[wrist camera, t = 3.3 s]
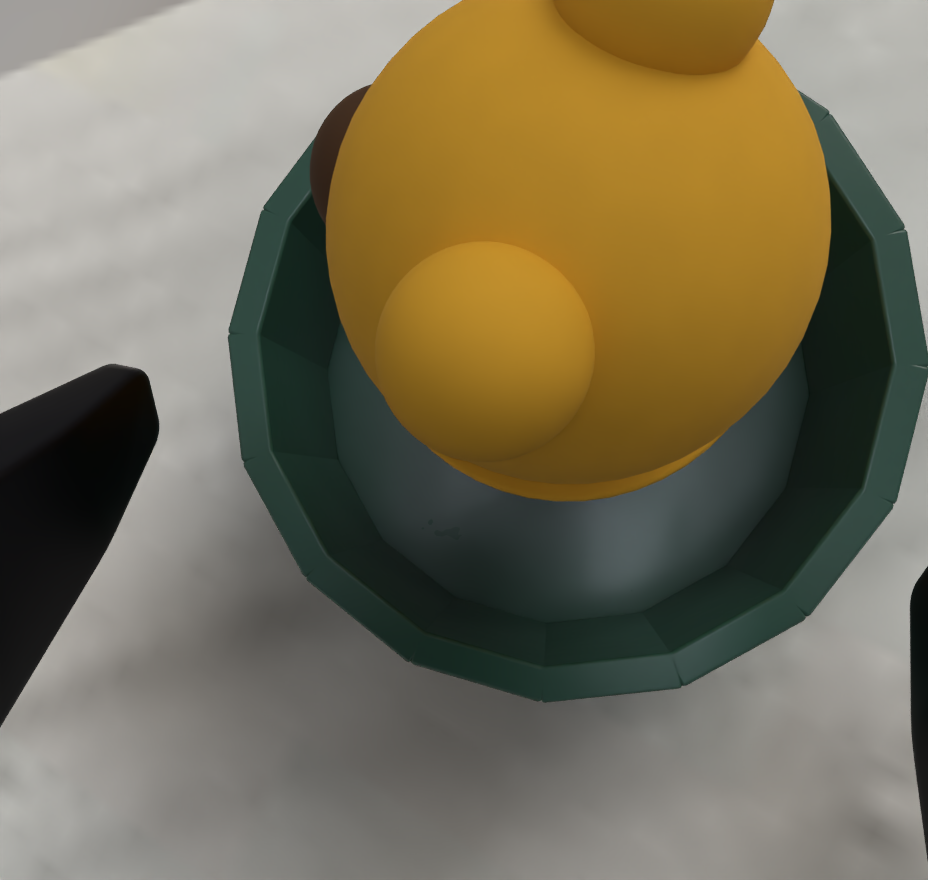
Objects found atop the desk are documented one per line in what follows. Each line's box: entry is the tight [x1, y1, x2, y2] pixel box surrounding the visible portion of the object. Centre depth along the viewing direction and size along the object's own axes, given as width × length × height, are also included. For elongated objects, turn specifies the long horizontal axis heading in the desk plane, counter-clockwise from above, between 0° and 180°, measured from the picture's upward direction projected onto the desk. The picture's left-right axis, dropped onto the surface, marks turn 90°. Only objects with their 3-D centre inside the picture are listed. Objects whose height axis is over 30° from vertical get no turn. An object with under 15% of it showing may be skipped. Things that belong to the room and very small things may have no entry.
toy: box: [310, 0, 831, 501], centre depth 12 cm, size 5×5×13 cm
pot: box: [228, 90, 928, 703], centre depth 17 cm, size 12×12×5 cm
